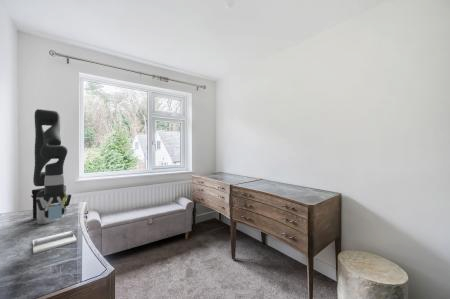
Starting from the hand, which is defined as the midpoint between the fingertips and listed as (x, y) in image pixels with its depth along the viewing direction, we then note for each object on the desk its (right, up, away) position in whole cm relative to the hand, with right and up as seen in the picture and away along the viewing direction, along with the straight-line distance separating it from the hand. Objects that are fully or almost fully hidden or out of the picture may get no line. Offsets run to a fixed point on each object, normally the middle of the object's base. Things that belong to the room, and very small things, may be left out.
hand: (54, 216), depth 99 cm
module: (0, -1, 0) cm, 1 cm away
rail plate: (0, -13, 0) cm, 13 cm away
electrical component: (-40, -14, +42) cm, 60 cm away
